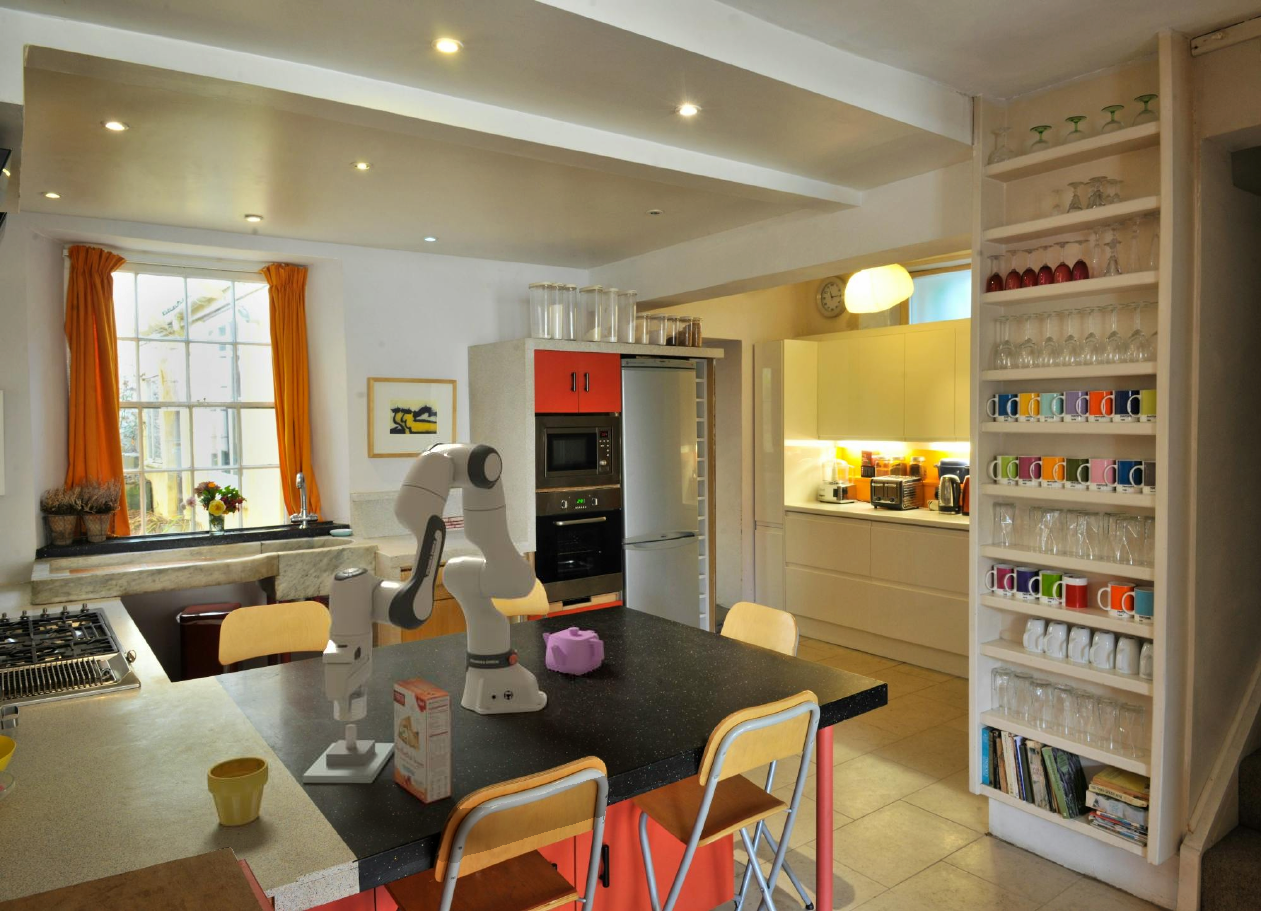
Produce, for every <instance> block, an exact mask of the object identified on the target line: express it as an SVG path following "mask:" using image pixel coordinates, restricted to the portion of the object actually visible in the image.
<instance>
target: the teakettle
mask: <svg viewBox="0 0 1261 911" xmlns="http://www.w3.org/2000/svg"><path fill="white" fill-rule="evenodd" d="M595 632H596V631H594V630H589V629H588V630H580V628H579V627H575V626H572V627H569V628H568V629H567V628H566V629H565V630H561V631H558V632H554V633H552V634H550V633H551V632H545V633H542V636H543V640H544V643H545V646H546V650H545V651H546V652H545V665H546V668H548V669H547V670H549V669H551V670H550V671H553V670H554V671H553V672H557V671H559V672H558V673H561V672H562V673H563V674H566V673H569V674H568V675H573V674H575V675H574V676H582V674H584V673H586V674H588V673H587V672H588V671H591V672H593V671H592V670H593V669H596V668H598V667H599V666H600V667H601V665H602V660H604V659H605V652H604V650H605V649H604V640H601V639H600V637H599V634H598V633H595ZM598 669H599V668H598ZM596 670H597V669H596ZM570 673H571V674H570ZM584 675H585V674H584Z"/></svg>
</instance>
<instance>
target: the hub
mask: <svg viewBox="0 0 1261 911" xmlns="http://www.w3.org/2000/svg"><path fill="white" fill-rule="evenodd" d="M348 701H349V705H350V713H349V714H348V715H346V716H341V715H340V707H339V705H338V702H337V701H333V718H334V720H337V721H338V722H353V721H357V720H361V719H364V718H365V717H366V715H367V713H368V712H367V692H363V690H362V691H353V692H352V693H351V694H350V695H349V699H348Z"/></svg>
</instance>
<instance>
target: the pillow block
mask: <svg viewBox="0 0 1261 911" xmlns="http://www.w3.org/2000/svg"><path fill="white" fill-rule="evenodd" d="M393 754H394V742H376V740H375V739H374V740H371V739H361V740H360V739H357V725H356V724H348V725H346V726H345V740H344V739H339V740H337V742H332V743H331V744H330V745H329V746H328V747H327V749H326V750H325V751H324V752H323V753H322V754H321V756H320V757H318V759H317V760H316V761H315V762H314V763H313V764H312V765H311V766H310V767H309V768H308V769H307V771H306V772H305V773H304V774H303V775H302V783H305V784H307V783H309V784H315V783H316V784H317V783H319V784H333V783H334V784H372V783H373V781H374V780H375V778H376V777H377V776H378V774H379V773H380V771H381V770H382V769H383V768H384V766H385V765H386V763H387V761H388V760H390V757H391V756H392V755H393Z"/></svg>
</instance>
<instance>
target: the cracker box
mask: <svg viewBox="0 0 1261 911" xmlns="http://www.w3.org/2000/svg"><path fill="white" fill-rule="evenodd" d="M451 698H452V695H451V693H449V692H446V691H444V690H443V689H440V688H439V687H437V686H435V685H433V684H431V683H429V682H428V681H425V680H423V679H421V678H419V677H416V678H412V679H405V680H400V681H396V682H394V683H393V711H394V712H393V715H394V716H393V719H394V720H393V727H394V730H393V731H394V733H393V738H394V739H393V741H394V742H393V743H394V752H393V754H394V782H396V783H397V784H399V785H400V786H401V787H403V789H405V790H407V791H408V792H409V793H411V794H412V795H413V796H414V797H417V798H418V799H419V800H421V802H422V803H424V804H431V803H433V802H436V801H440V800H442V799H443V800H444V799H446V798H449V797H451V796H452V730H451V729H452V728H451V727H452V723H451V722H452V719H451V718H452V710H451V708H452V704H451V703H452V699H451Z"/></svg>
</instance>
